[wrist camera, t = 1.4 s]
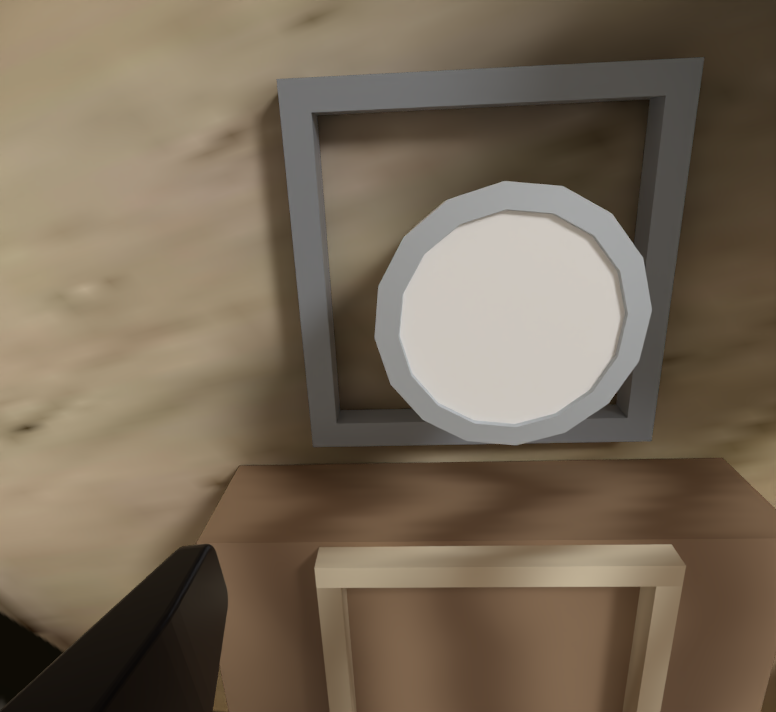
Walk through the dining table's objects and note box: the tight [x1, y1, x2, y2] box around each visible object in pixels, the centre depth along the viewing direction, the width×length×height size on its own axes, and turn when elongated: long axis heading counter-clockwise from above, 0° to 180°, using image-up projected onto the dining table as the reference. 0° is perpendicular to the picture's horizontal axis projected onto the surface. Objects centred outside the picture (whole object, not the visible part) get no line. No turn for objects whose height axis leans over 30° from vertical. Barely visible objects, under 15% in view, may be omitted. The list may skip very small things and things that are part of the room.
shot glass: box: [374, 181, 652, 445], centre depth 17 cm, size 7×7×7 cm
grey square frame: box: [277, 57, 704, 447], centre depth 20 cm, size 13×13×1 cm
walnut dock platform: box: [196, 458, 776, 712], centre depth 22 cm, size 20×12×6 cm, turn 92°
